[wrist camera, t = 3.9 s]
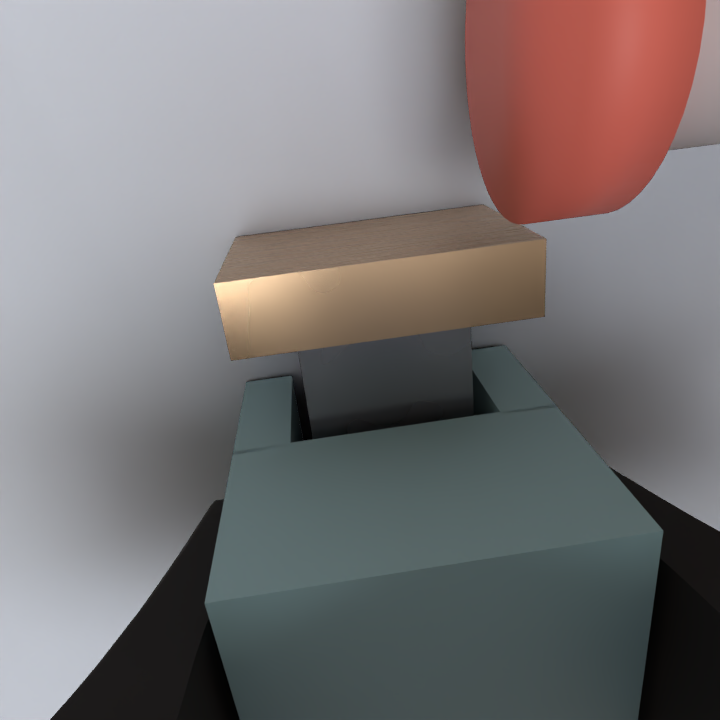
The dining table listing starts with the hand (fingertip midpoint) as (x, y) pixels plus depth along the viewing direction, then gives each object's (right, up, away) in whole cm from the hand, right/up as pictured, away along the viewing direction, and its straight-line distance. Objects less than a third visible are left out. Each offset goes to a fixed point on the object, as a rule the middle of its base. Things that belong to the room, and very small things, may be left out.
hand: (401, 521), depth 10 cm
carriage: (0, 0, +2) cm, 2 cm away
